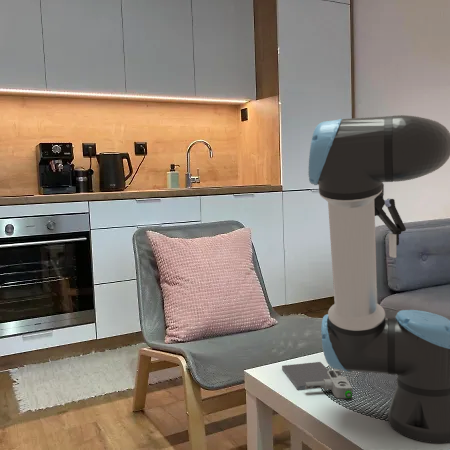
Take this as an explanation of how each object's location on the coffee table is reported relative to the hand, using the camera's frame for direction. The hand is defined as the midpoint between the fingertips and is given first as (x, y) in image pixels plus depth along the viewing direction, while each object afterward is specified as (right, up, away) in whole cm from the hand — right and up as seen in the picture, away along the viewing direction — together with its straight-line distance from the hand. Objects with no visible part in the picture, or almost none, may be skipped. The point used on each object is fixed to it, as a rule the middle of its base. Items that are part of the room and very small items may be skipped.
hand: (370, 258), depth 141 cm
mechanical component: (-21, -29, -19) cm, 41 cm away
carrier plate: (-18, -30, -9) cm, 36 cm away
